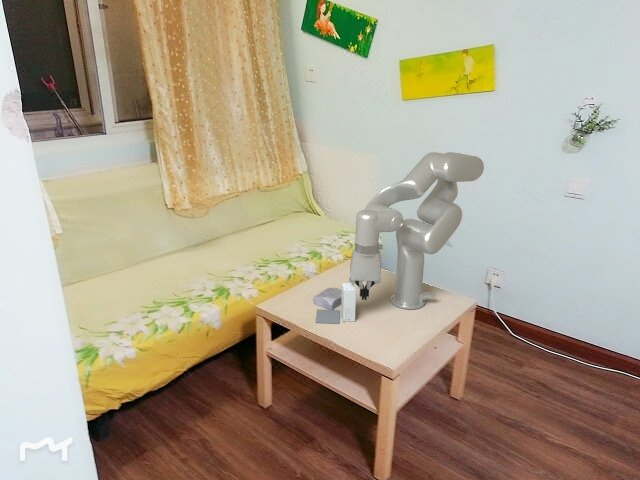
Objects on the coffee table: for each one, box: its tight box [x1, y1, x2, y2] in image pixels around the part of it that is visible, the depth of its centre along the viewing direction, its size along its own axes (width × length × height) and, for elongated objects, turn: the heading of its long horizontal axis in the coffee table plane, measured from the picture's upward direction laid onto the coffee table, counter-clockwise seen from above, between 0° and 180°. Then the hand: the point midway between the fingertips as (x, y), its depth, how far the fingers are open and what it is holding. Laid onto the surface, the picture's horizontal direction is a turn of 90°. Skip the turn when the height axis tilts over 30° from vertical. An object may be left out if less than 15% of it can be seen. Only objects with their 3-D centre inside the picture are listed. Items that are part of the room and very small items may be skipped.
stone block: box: [312, 287, 342, 310], centre depth 172 cm, size 12×5×10 cm
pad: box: [315, 308, 341, 325], centre depth 161 cm, size 8×9×1 cm
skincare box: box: [340, 282, 357, 323], centre depth 159 cm, size 6×4×12 cm
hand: (364, 298), depth 158 cm, fingers closed
